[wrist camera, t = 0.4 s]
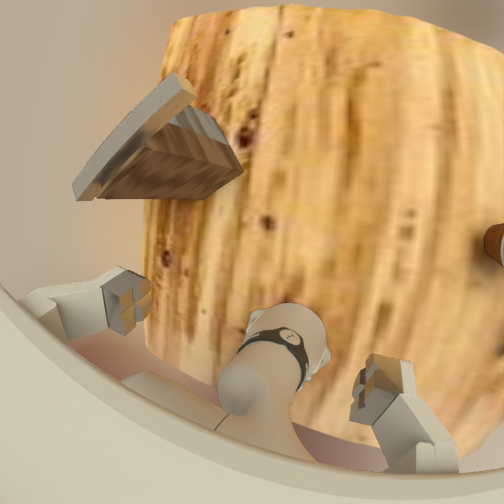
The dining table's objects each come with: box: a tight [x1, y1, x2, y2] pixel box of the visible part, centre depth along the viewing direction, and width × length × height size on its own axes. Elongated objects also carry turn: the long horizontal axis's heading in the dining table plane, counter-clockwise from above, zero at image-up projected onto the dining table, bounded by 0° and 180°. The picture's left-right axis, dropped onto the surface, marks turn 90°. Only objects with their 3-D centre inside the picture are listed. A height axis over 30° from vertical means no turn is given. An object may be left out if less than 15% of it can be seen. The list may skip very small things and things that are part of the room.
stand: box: [87, 105, 244, 200], centre depth 44 cm, size 11×14×28 cm
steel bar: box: [72, 72, 198, 201], centre depth 30 cm, size 22×3×3 cm, turn 119°
